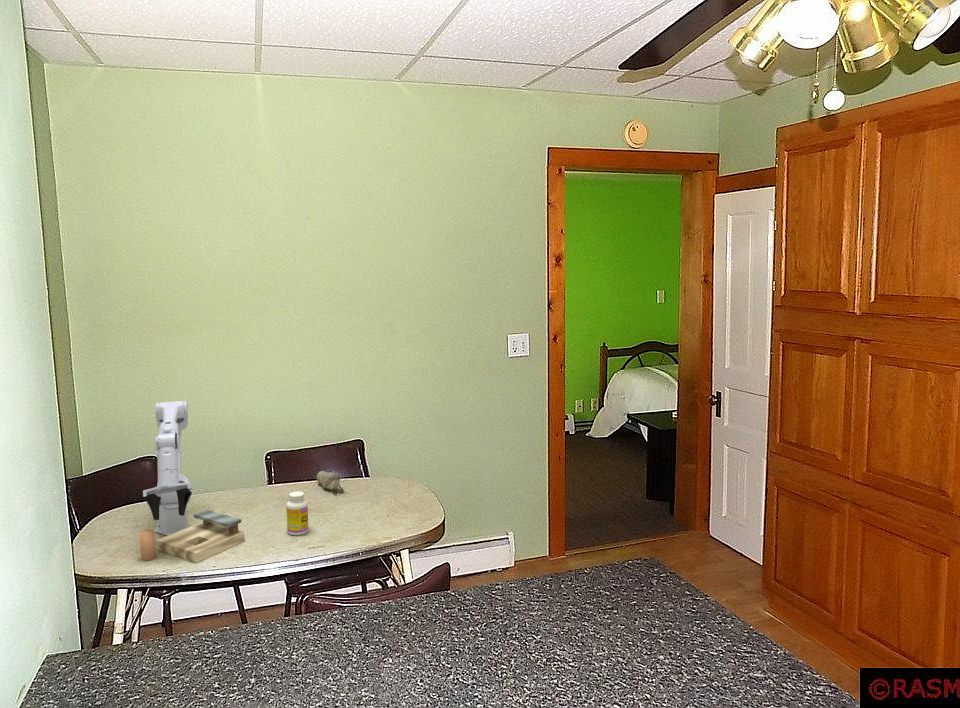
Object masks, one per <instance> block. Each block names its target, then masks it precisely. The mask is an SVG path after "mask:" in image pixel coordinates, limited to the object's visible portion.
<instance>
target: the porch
mask: <svg viewBox="0 0 960 708" xmlns="http://www.w3.org/2000/svg"><path fill="white" fill-rule="evenodd" d="M193 517H194V519H198V520H202V522H199V523H197V524H196V523H195V524H194V525H191V526H190V527H189V528H186V529H184V530H181V531H178V532H176V533H173V534H171V535H168V536H167V535H165V536H163V537H160V538H159V539H156V549H157V551H161V552H163V553H167V554H169V555H172V556H175V557H179V558H180V557H181V559H185V560H186V561H189V562H192V563H194V564H197V563H200V562H202V561H204V560H206V559H209V558H210V557H212V556H213V557H214V556H215V555H217V554H219V553H221V552H223V551H226V550H228V549H230V548H233V547H235V546H237V545H239V544H243V543H244V542H245V531H242V530H239V524H241V523H242V519H241V518H237V517H235V516H231V515H227V514H224V513H220V512H217V511H213V510H210V509H204V510H201V511H200V512H197V513H194V514H193Z"/></svg>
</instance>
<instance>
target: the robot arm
mask: <svg viewBox="0 0 960 708" xmlns="http://www.w3.org/2000/svg"><path fill="white" fill-rule="evenodd" d="M188 406H189V404H188V401H187V400H185V399H184V400H180V401H179V400H178V401H177V400H176V401H161V402H160V401H157V402H156V403H155V408H154V410H155V418H156V424H157V427H158V435H155V438H154V439H155V440H154V445H155V446H154V447H155V452H156V459H157V483H156V484H157V485H156V486H155V487H152V488H148V489H144V490H142V497H143V498H144V499H145V501H146V502H147V504H148V507H149V509H150V512H151V514H152V518H153V521H156V526H157V528H156V529H155V530H154V533H158V534H160V535H164V536H168V535H171V534H173V533H176V532H178V531H181V530H184V529H186V528H189V527H191V526H189V522H188V519H189V518H188V508H187V507H188V506H187V504H188V503H190V501H191V496H192V494H193V493H192V491H191V490H194V486H195V485H194V482H191V481H190V480H189V478H188V477H187V476H185V475H183V474H182V472H181V471H182V470H181V468H182V467H181V438H182V437H181V436H182V432H183V430H185V429H186V428H187V427H188V424H189V407H188Z"/></svg>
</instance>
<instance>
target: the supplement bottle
mask: <svg viewBox="0 0 960 708" xmlns="http://www.w3.org/2000/svg"><path fill="white" fill-rule="evenodd" d="M288 498H289V501H288V502H287V503H286V505H285V507H286V529H287V530H286V531H287V533H288V534H289V535H291V536H301V535H305V534H306V533H307V532H308V531H309V513H308V512H309V510H308V509H309V507H308V506H309V505H308V501H307V500H306V499H305V493H304V492H303V491H299V490H297V491H292V492H290V493H289V495H288Z"/></svg>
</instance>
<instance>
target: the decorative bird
mask: <svg viewBox="0 0 960 708" xmlns="http://www.w3.org/2000/svg"><path fill="white" fill-rule="evenodd" d="M316 482H317V484H318V485H321V486H322V487H323V489H327V490H333V491H334V492H333V493H332V495H337V494H338V492H337V488H338V487H339V489H340V491H339V493H341V494H343V493H345V492H344V488H343V487H342V486H341V476H340V475H339V474H334V473H332V472H328V471H327V472H326V471H323V470H321V471H319V472H318V473H317V474H316Z"/></svg>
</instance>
